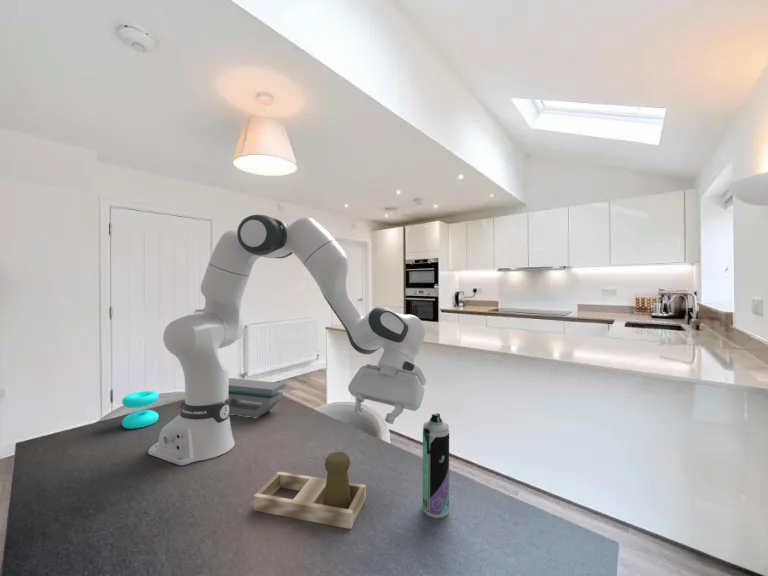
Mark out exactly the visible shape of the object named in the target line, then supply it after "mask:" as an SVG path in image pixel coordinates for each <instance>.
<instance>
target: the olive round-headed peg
mask: <svg viewBox="0 0 768 576" xmlns="http://www.w3.org/2000/svg"><path fill="white" fill-rule="evenodd" d="M350 466H351V459H350V457H349V455H348V454H347V453H345V452H343V451H334V452H332V453H330V454H328V455H327V457H326V458H325V460H324V467H325V471H326V472H327V475H326V479H327V481H326V488H325V496H324V502H323V505H327V506H333V507H338V508H344V509H349V507H350V505H351V496H350V488H349V474H348V472H349V471H348V470H349V469H350Z"/></svg>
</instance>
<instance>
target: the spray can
mask: <svg viewBox="0 0 768 576" xmlns="http://www.w3.org/2000/svg"><path fill="white" fill-rule="evenodd" d="M449 428H450V426H449V424H448V423H446V422H444V421H443V419H442V418H441V414H440V413H439V412H438V413H433V414H431V416H430V418H429V420H428V421H426V422H424V423H423V428H422V512H423V513H424V514H425V515H427V516H428V517H430V518H434V519H441V518H445V517H447V515H448V514H449V512H450V429H449Z"/></svg>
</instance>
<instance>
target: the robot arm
mask: <svg viewBox="0 0 768 576" xmlns="http://www.w3.org/2000/svg"><path fill="white" fill-rule="evenodd" d="M343 249H344V248H342V247H341V245H340V244H339V243H338V242H337V240H336V239H335V238H334V237H333V236H332V235H331V234H330V233H329V232H328V230H326V228H324V227H323V225H321V224H320V223H318V222H317V221H316V220H315V219H314V218H312V217H308V216H307V217H301V218H298V219H296V220H295V221H293V222H292V223H290V224H287V223H285V222H283V220H280V219H278V218H274V217H271V216H270V215H269V216H268V215H264V214H253V215H249V216H246V217H245V218H244V219H242V221H240V223H239V225H238V227H237V230H236V229H235V230H228V231H226V232H223V234H222V235H221V236H220V238H219V240H218V242H217V243H216V245H215V247H214V249H213V251H212V253H211V256H210V258H209V261H208V264H207V267H206V269H205V272H204V276H203V278H202V281H201V284H200V292H201V294H202V296H204V300H205V302H204V303H205V304H204V305H205V306H204V310H203V312H202V313H196V314H188V315H184V316H181V317H179V318H177V319H174V320H172V321H171V322H169V323H168V324H167V326H165V328H164V331H163V335H162V339H163V341H162V342H163V344H164V346H165V348H166V350H167V351H168V352H169V353H170V354H172V355H174V356H175V357H176V358H177V360H178V362H179V363H180V364H179V365H180V366H181V368H182V372H183V377H184V397H185V398H184V399H185V400H184V401H183V402H180V403H178V404H176V406H177V407H176V409H177V410H178V409H180V412H179V414H178V415H176V416H175V417H174V419H172V420H171V421H170V422H168V423H167V424H165V425H164V427H162V428H161V430H160V432H159V436H158V442H156V443H155V444H153V445H152V446H151V447H149V449H148V452H147V454H148V455H150V456H153V457H156V458H159V459H161V460H164V461H166V462H170V463H173V464H175V465H177V466H185V465H188V464H192V463H195V462H199V461H205V460H209V459H214V458H216V457H219V456H221V455H224V454H225V453H227V452H229V451H231V450H232V449H233V447H234V446H235V443H236V442H235V440H234V436H233V431H232V425H231V419H230V415H229V413H230V396H229V378H230V377H229V375H230V373H229V372H230V371H229V369H228V368H227V367H226V366H224V365H223V364H222V362H221V360H220V356H219V351H218V350H219V349H222V348H226V347H229V346H230V345H231V344H234V343H235V342H236V341H238V340H239V339H240V338H241V337H242V335H243V334H244V329H245V328H244V322H243V320H242V318H241V306H242V299H243V296H244V293H245V289H246V286H247V283H248V282H249V281H248V280H249V278H250V275H251V271H252V269H253V266H254V264H255V262H256V261H257V260H258V259H260V258H267V259H284V258H288V257H290V256H291V255H294V256H296V257H297V259H298V260H299V261H300V262H301V263H302V264H303V266H304V267H305V268H306V270H307V271H308V272H309V273H310V275H311V277H312V278H313V279H314V281H315V282H316V284H317V286H318V287H319V289H320V291H321V294H322V295H323V298H324V300H326V302H327V304H328V305H329V307H330V308H331V310H332V312H333V313H334V315H335V316H336V317H337V319H338V320H339V321H340V323H341V325H342V326H343V328H344V329H345V332H346V335H347V337H348V340H349V341H348V342H349V343H350V345H351V346H352V349H354V350H355V351H356V352H358V353H360V354H362V355H371V354H374V353H376V352H378V350H379V349H381V348H383V353H381V357H380V359H379V361H378V363H377V365H374V364H373V365H371V364H365V365H362V366H361V367H359V369H358V371H357V372H356V373H355V375H354V376H353V377H352V379H351V381H350V382H349V383H348V386H347V387H348V392H349V393H350V395H352V396H353V397H354V398H355V407H354V408H353V410H352V411H353V413H354V414H355V415H356V416H361V415H362V413H363V412H364V410H365V409H364V408H363V407H362V403H364V402H365V400H368V401H370V402H371V401H372V402H375V403H378V404H379V403H380V404H383V405H388V406H392V407H394V409H393V410H392V411H391V412H387V413H386V416H385V418H384V421H385V422H386V423H387V424H390V425H393V424H394V422H395V420H396V418H397V417H399V416H400V415H401V414H402V413H403V411H404V409H405V410H409V411H412V412H415V411H417V410H418V409H420V407H421V405H422V402H423V399H424V394H425V385H426V383H427V377H426V375H425V374H424V373H423V371H422V369H421V368H420V366H419V365H418V364H416V363H415V360H416V357H417V356H418V355H419V353H420V351H421V348H422V345H423V343H424V339H425V334H426V327H425V324H424V322H423V321H422V320H421V319H420V318H419V317H417V316H416V315H413V314H409V313H408V314H402V313H398V312H396V311H394V310H393V309H391V308H389V307H387V306H382V305H380V306H376V307H375V308H373V309H372V310H371V311H370V312H368V313H367V314H366V315H364V316H363V315H362V313H361V312H360V310H359V309H358V307H357V306H356V305H355V303H354V302H353V300H352V299H351V296H349V294H348V291H347V275H348V271H349V258H348V257H347V254H346V253H345V251H344V250H343Z"/></svg>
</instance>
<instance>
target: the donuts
mask: <svg viewBox="0 0 768 576" xmlns="http://www.w3.org/2000/svg"><path fill="white" fill-rule="evenodd" d="M159 398H160V397H159V393H158V392H157V391H153V390H142V391H137V392H133V393H130V394H127V395H126V396H124V397H123V399H122V401H121V404H122V405H123V406H124V407H125V408H128V409H129V408H130V409H137V408H144V407H147V406H150V405H153V404H154V403H156V402H157V401H158V399H159ZM158 419H159V414H158V412H156V411H155V410H150V409H147V410H146V409H145V410H138V411H134V412H132V413H130V414H127V416H125V417H123V419H122V422H121V425H122V426H123V428H125V429H130V430H131V429H141V427H142V428H146V427H149V426H151V425H153V424H154V423H156V422H157V421H158ZM145 426H146V427H145Z"/></svg>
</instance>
